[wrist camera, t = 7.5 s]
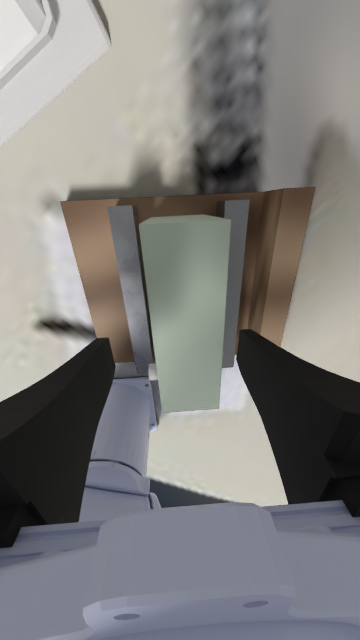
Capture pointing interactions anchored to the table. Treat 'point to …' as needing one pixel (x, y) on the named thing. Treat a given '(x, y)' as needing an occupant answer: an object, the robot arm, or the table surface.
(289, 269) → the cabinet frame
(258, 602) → the robot arm
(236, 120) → the table surface
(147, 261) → the pale green foam block
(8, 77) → the light switch
